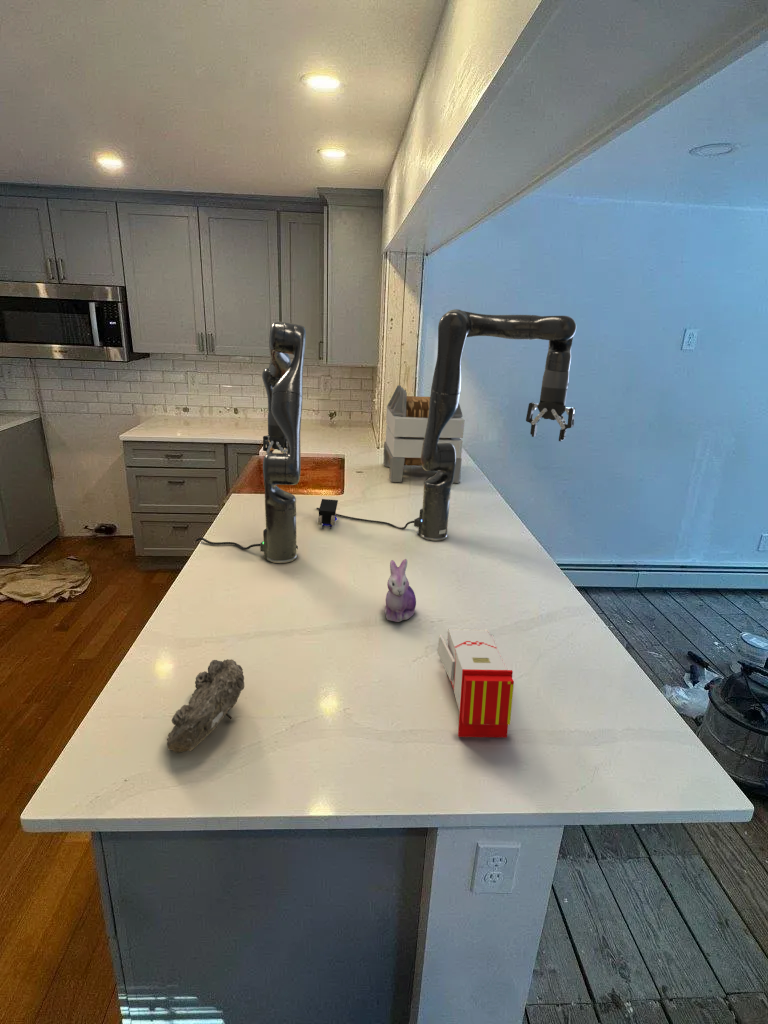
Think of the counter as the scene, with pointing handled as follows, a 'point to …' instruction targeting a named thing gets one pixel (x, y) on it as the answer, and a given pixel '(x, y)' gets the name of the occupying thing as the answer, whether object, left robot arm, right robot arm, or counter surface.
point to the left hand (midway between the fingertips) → (278, 464)
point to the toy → (478, 682)
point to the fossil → (206, 705)
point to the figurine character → (327, 513)
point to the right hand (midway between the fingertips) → (547, 438)
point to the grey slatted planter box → (415, 433)
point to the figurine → (399, 594)
